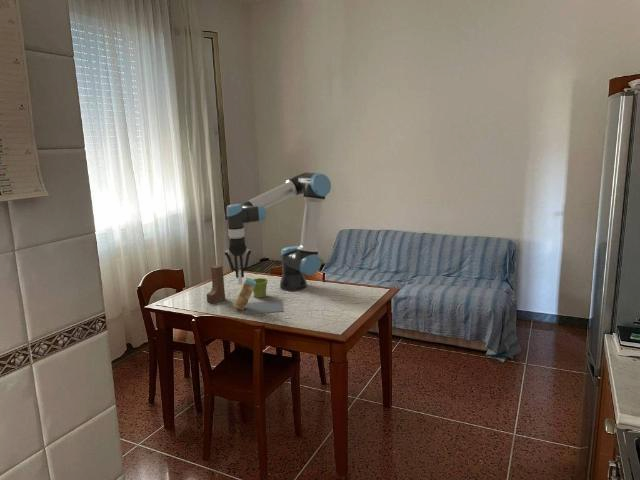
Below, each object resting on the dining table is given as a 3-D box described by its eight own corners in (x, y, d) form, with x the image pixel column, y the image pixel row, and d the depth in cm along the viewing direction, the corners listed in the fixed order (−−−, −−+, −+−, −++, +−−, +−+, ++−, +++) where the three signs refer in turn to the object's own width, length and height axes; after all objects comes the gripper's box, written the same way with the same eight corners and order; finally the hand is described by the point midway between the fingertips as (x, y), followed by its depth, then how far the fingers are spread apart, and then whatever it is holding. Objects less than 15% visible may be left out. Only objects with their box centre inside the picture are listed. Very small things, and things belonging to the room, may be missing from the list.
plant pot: (264, 299, 245) (263, 283, 243) (248, 298, 247) (247, 282, 246) (271, 294, 253) (270, 278, 252) (255, 292, 256) (254, 277, 254)
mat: (281, 300, 242) (281, 300, 242) (283, 311, 227) (283, 310, 227) (246, 303, 240) (246, 302, 240) (246, 314, 224) (246, 314, 224)
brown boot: (212, 303, 242) (209, 270, 238) (206, 302, 244) (203, 269, 240) (225, 298, 249) (222, 265, 245) (219, 297, 251) (216, 264, 248)
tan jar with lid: (243, 307, 234) (256, 281, 232) (243, 310, 229) (256, 284, 228) (234, 303, 233) (246, 277, 231) (233, 307, 228) (246, 280, 227)
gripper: (250, 234, 229) (253, 280, 234) (223, 236, 227) (227, 282, 232) (250, 237, 221) (253, 285, 226) (222, 239, 220) (226, 287, 225)
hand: (240, 283), depth 229 cm, fingers closed
